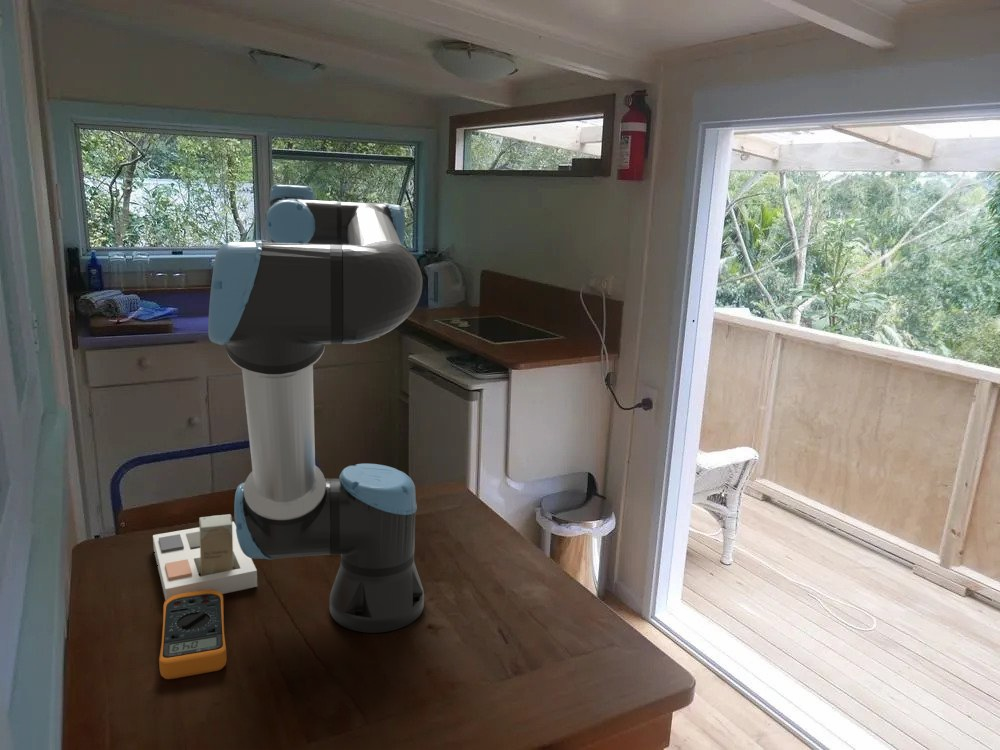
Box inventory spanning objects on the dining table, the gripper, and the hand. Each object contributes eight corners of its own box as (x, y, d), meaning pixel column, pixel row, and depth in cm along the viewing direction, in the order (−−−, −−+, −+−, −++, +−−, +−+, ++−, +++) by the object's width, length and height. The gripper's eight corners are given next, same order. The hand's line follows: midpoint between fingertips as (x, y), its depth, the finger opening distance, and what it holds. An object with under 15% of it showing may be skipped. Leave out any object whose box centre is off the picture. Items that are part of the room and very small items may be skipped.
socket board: (257, 586, 124) (256, 567, 123) (166, 605, 117) (165, 586, 116) (234, 535, 141) (233, 519, 140) (153, 550, 134) (152, 532, 133)
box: (201, 588, 122) (198, 527, 120) (200, 576, 126) (197, 516, 123) (235, 583, 125) (232, 523, 122) (233, 571, 128) (230, 512, 126)
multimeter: (223, 604, 119) (222, 585, 118) (227, 672, 103) (226, 651, 102) (165, 613, 116) (163, 593, 115) (159, 685, 100) (158, 663, 99)
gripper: (263, 269, 135) (267, 392, 141) (282, 279, 125) (284, 412, 131) (304, 269, 139) (306, 389, 145) (325, 278, 128) (326, 407, 134)
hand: (296, 400), depth 138 cm, fingers closed
